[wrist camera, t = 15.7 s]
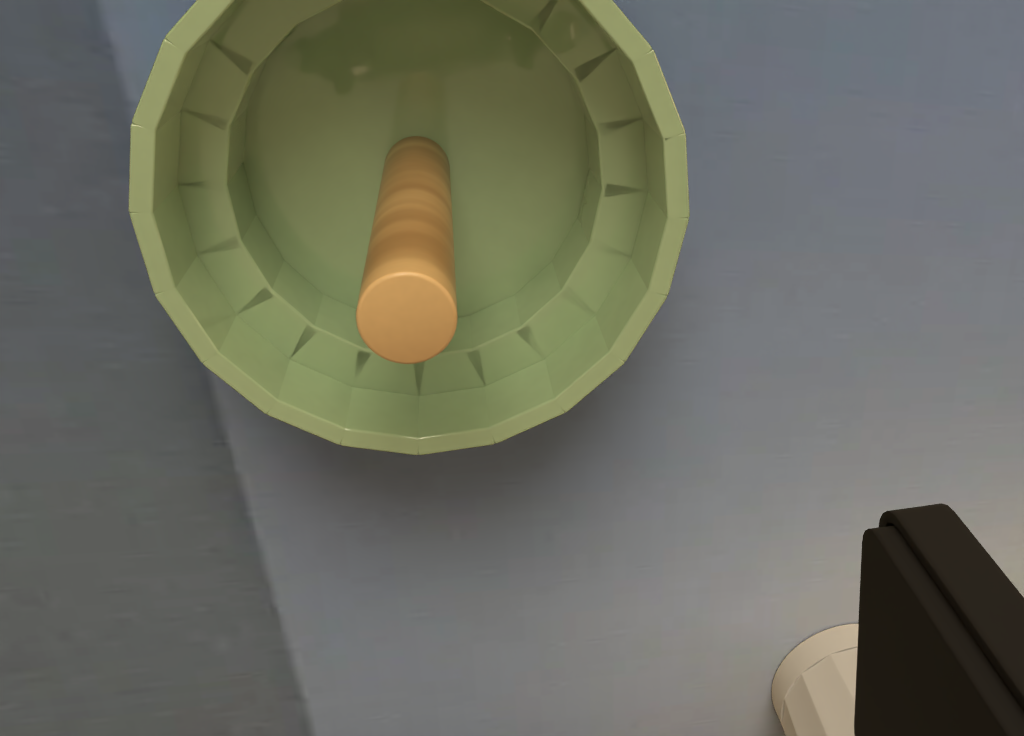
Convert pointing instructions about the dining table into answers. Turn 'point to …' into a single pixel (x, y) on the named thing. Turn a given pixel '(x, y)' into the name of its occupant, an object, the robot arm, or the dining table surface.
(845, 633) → the cup
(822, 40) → the dining table surface
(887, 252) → the dining table surface
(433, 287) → the stick
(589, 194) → the bowl
